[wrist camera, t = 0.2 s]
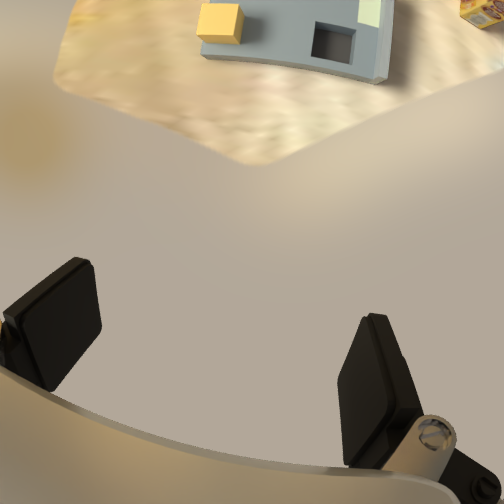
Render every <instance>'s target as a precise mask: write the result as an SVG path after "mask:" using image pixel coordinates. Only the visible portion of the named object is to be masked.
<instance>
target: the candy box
mask: <svg viewBox="0 0 504 504" xmlns="http://www.w3.org/2000/svg"><path fill="white" fill-rule="evenodd" d="M460 17H462V18H464V19H465V20H467V21H469V22H470V23H472V24H473V25H475V26H476V27H478V28H479V29H482V28H485V27H487V26H490V25H492V24H495V23H498V22H501V21H504V0H461V5H460Z"/></svg>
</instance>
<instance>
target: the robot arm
mask: <svg viewBox="0 0 504 504" xmlns="http://www.w3.org/2000/svg"><path fill="white" fill-rule="evenodd" d="M3 315H4V318H5V321H4V322H3V323H2V321H1V320H0V504H504V499H503V500H501V498H500V496H501V484H500V481H499V479H498V478H497V476H496V475H495V474H493V473H492V472H490V471H489V470H488V469H486V468H485V467H483V466H482V465H480V464H479V463H477V462H475V461H474V460H472V459H471V458H469V457H468V456H466V455H465V454H463V453H462V452H460V451H459V450H457V449H456V448H455V445H456V441H457V438H456V433H455V430H454V428H453V427H452V426H451V424H450V423H449V422H448V421H446V420H445V419H444V418H441V417H439V416H436V415H424V413H423V410H422V407H421V404H420V401H419V397H418V395H417V391H416V388H415V385H414V382H413V380H412V377H411V374H410V371H409V368H408V365H407V363H406V360H405V358H404V357H403V356H402V354H401V351H400V348H399V345H398V343H397V340H396V337H395V335H394V332H393V330H392V327H391V325H390V322H389V320H388V317H387V316H386V315H382V314H374V313H369V315H368V316H367V317H365V316H364V317H363V318H362V319H361V322H360V324H359V327H358V329H357V332H356V335H355V337H354V340H353V342H352V345H351V347H350V350H349V352H348V355H347V357H346V360H345V362H344V364H343V367H342V369H341V371H340V374H339V376H338V382H337V384H338V385H337V386H338V395H339V407H340V417H341V431H342V445H343V461H344V465H349V468H340V467H339V468H338V467H323V466H309V465H300V464H291V463H283V462H274V461H267V460H260V459H254V458H248V457H242V456H236V455H231V454H226V453H221V452H217V451H212V450H208V449H203V448H199V447H196V446H192V445H187V444H184V443H180V442H176V441H173V440H169V439H166V438H162V437H159V436H156V435H153V434H150V433H146V432H144V431H140V430H138V429H134V428H132V427H129V426H126V425H123V424H121V423H118V422H115V421H113V420H110V419H108V418H105V417H103V416H100V415H98V414H95V413H93V412H91V411H88V410H86V409H84V408H81V407H79V406H77V405H75V404H72V403H70V402H68V401H66V400H64V399H62V398H60V397H58V396H55V395H54V394H51V393H50V392H53V391H55V389H56V388H57V387H58V386H59V384H60V383H61V382H62V380H63V379H64V378H65V376H66V375H67V374H68V373H69V371H70V370H71V369H72V367H73V366H74V365H75V364H76V362H77V361H78V360H79V359H80V357H81V356H82V355H83V354H84V352H85V351H86V350H87V348H89V346H90V345H91V344H92V343H93V341H94V340H95V339H96V338H97V336H98V335H99V334H100V332H101V329H102V323H101V317H100V311H99V304H98V297H97V290H96V282H95V273H94V267H93V265H91V263H90V261H89V260H87V259H83V258H79V257H74V258H72V259H71V260H69V261H68V262H67V263H65V264H64V265H62V266H61V267H60V268H58V269H57V270H56V271H54V272H53V273H52V274H50V275H49V276H48V277H46V278H45V279H44V280H42V281H41V282H40V283H38V284H37V285H36V286H35V287H33V288H32V289H31V290H30V291H28V292H27V293H26V294H24V295H23V296H22V297H21V298H19V299H18V300H17V301H16V302H14V303H13V304H12V305H11V306H10V307H9V308H7V309H6V310H5V311H4V312H3Z"/></svg>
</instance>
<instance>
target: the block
mask: <svg viewBox="0 0 504 504" xmlns="http://www.w3.org/2000/svg"><path fill="white" fill-rule="evenodd" d="M244 17H245V15H244V13H243V11H242V9H241V7H240V5H239V4H224V3H206V4H202V6H201V11H200V16H199V22H198V27H197V32H196V35H197V36H198V37H200V38H201V39H202V40H203V41H204V42H205V43H217V44H237V45H240V41H241V35H242V29H243V23H244Z"/></svg>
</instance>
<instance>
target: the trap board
mask: <svg viewBox="0 0 504 504" xmlns="http://www.w3.org/2000/svg"><path fill="white" fill-rule="evenodd" d="M210 3H224V4H239V5H240V7H241V9H242V11H243V13H244V15H245V17H244V23H243V29H242V35H241V41H240V45H237V44H217V43H205V42H204V41H202V47H201V53H200V54H201V55H202V56H203V57H205V58H206V59H215V60H232V61H245V62H255V63H265V64H273V65H280V66H287V67H294V68H300V69H306V70H312V71H317V72H322V73H327V74H332V75H337V76H341V77H346V78H350V79H354V80H358V81H362V82H366V83H370V84H374V85H376V84H378V83H380V82H382V81H384V80H386V79H387V78H388V70H389V61H390V52H391V41H392V29H393V15H394V0H210Z"/></svg>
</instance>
